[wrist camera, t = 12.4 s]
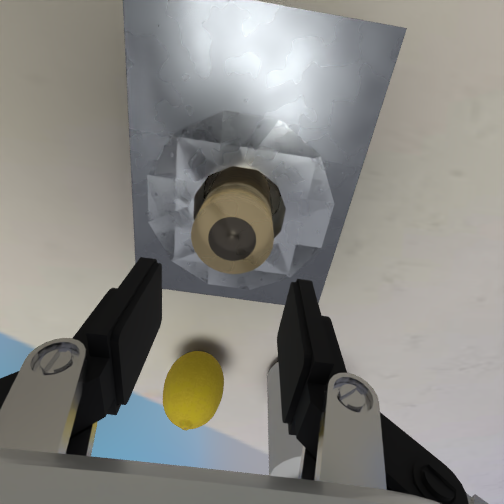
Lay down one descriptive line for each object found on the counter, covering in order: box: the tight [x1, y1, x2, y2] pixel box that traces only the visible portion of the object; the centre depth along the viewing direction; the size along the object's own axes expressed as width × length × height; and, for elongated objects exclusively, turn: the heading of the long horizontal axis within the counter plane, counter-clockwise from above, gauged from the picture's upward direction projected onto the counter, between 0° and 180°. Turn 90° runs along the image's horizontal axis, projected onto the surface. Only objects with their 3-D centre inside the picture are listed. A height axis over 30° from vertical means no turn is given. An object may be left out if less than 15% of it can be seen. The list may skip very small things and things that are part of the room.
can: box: [267, 362, 303, 479], centre depth 27 cm, size 8×8×12 cm
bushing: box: [191, 166, 274, 274], centre depth 20 cm, size 4×4×8 cm
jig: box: [123, 0, 407, 305], centre depth 20 cm, size 18×14×4 cm
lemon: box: [163, 351, 224, 430], centre depth 28 cm, size 6×6×8 cm
